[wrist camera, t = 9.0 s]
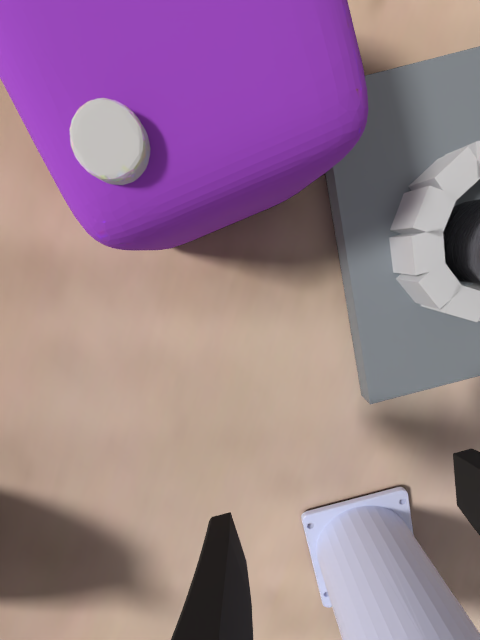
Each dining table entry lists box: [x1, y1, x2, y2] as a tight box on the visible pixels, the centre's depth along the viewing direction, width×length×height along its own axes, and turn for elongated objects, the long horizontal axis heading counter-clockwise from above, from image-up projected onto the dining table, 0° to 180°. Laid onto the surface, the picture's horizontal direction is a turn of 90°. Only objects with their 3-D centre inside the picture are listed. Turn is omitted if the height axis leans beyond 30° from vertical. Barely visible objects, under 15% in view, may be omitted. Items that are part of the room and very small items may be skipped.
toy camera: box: [0, 0, 368, 250], centre depth 11 cm, size 11×14×10 cm
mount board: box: [325, 46, 480, 404], centre depth 16 cm, size 18×14×4 cm
